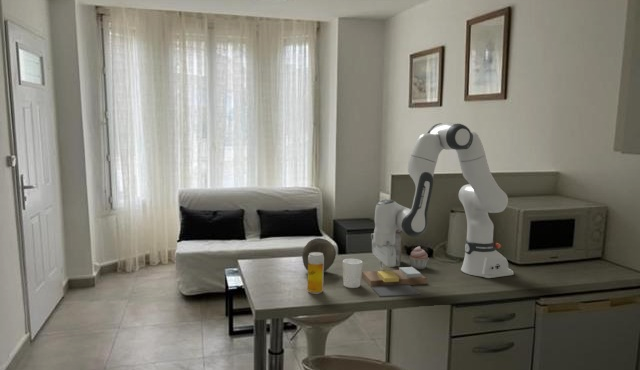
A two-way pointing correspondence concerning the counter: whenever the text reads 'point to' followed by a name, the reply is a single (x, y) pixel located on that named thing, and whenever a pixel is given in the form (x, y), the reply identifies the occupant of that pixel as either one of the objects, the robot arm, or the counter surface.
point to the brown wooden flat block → (375, 280)
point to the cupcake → (418, 258)
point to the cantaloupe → (321, 247)
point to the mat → (394, 290)
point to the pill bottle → (315, 272)
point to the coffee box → (398, 246)
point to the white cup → (352, 272)
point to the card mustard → (388, 276)
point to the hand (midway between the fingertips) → (383, 271)
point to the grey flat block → (409, 272)
